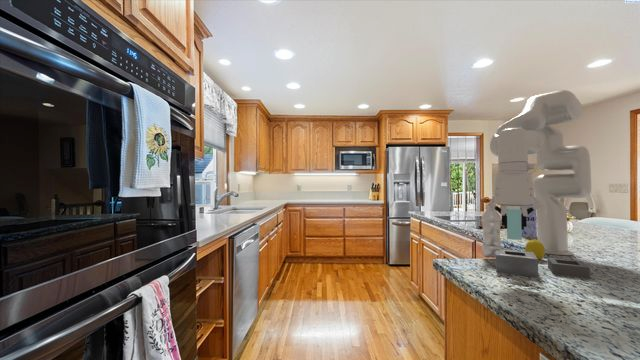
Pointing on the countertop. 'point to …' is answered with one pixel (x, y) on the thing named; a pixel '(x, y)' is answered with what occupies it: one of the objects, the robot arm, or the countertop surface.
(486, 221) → the plastic bottle
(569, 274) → the grey square socket
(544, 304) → the countertop surface
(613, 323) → the countertop surface
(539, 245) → the lemon
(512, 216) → the plug
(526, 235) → the aerosol can
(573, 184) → the robot arm
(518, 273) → the port block
